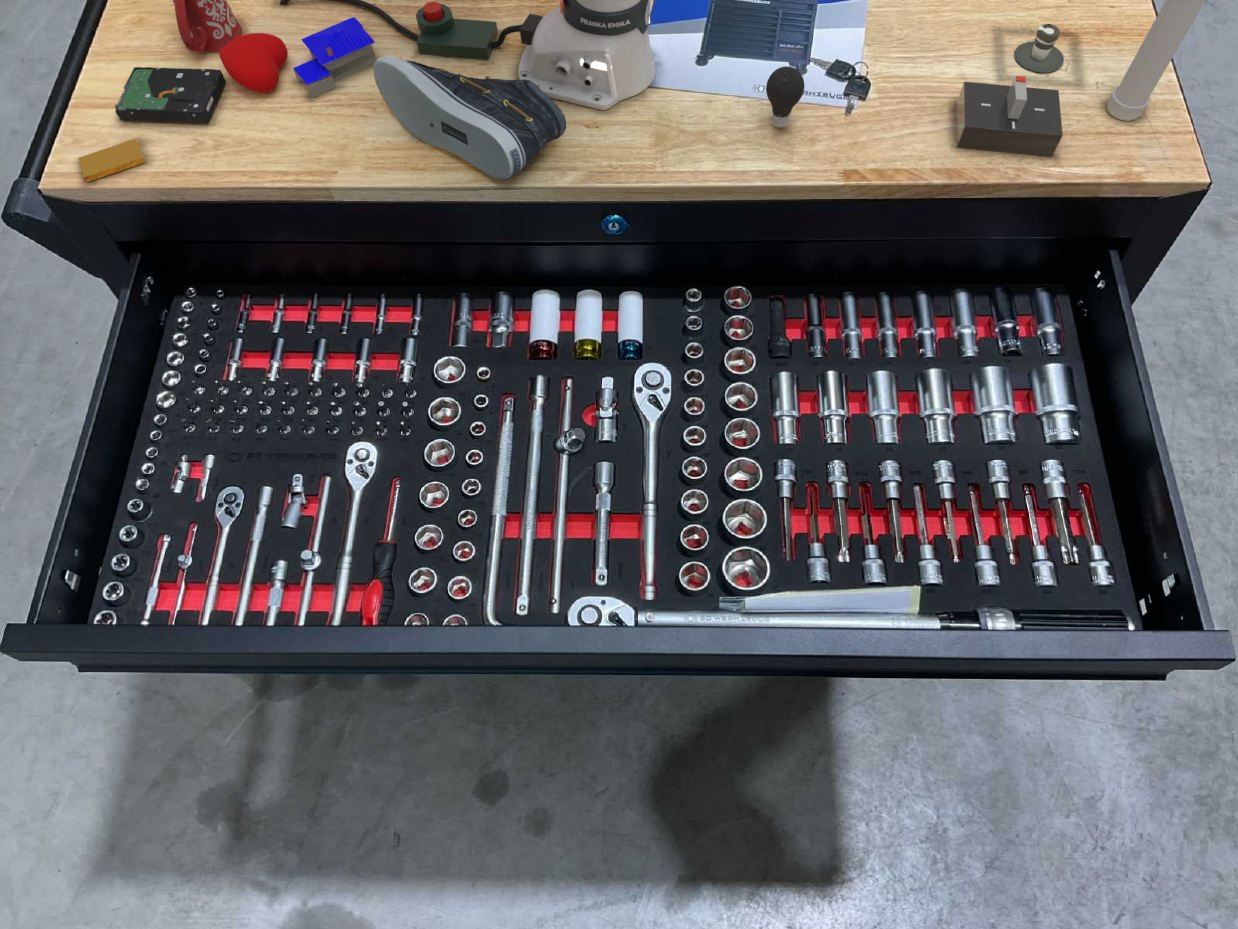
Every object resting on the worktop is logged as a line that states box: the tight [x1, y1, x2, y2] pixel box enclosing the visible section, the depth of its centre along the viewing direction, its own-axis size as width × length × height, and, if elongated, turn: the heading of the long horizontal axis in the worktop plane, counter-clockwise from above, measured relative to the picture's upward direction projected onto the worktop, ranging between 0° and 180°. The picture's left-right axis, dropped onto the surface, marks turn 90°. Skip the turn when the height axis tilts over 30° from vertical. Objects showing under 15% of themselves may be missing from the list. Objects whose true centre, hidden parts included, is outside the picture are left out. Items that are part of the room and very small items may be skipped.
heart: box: [218, 32, 289, 94], centre depth 146 cm, size 12×5×10 cm
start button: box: [422, 0, 443, 21], centre depth 148 cm, size 3×3×2 cm
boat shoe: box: [372, 55, 567, 180], centre depth 137 cm, size 11×30×14 cm
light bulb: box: [765, 65, 805, 129], centre depth 135 cm, size 6×6×10 cm
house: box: [292, 16, 377, 99], centre depth 147 cm, size 11×14×6 cm
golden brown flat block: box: [77, 137, 146, 183], centre depth 139 cm, size 9×1×5 cm
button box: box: [415, 3, 499, 61], centre depth 149 cm, size 13×8×4 cm, turn 80°
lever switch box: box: [955, 81, 1063, 158], centre depth 136 cm, size 14×10×4 cm
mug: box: [172, 0, 243, 53], centre depth 147 cm, size 13×9×14 cm
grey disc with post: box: [1014, 23, 1065, 74], centre depth 143 cm, size 12×12×5 cm
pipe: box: [1106, 0, 1207, 122], centre depth 126 cm, size 6×6×30 cm
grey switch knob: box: [1007, 75, 1027, 119], centre depth 132 cm, size 5×2×4 cm, turn 170°
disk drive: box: [114, 66, 227, 125], centre depth 145 cm, size 10×3×15 cm
